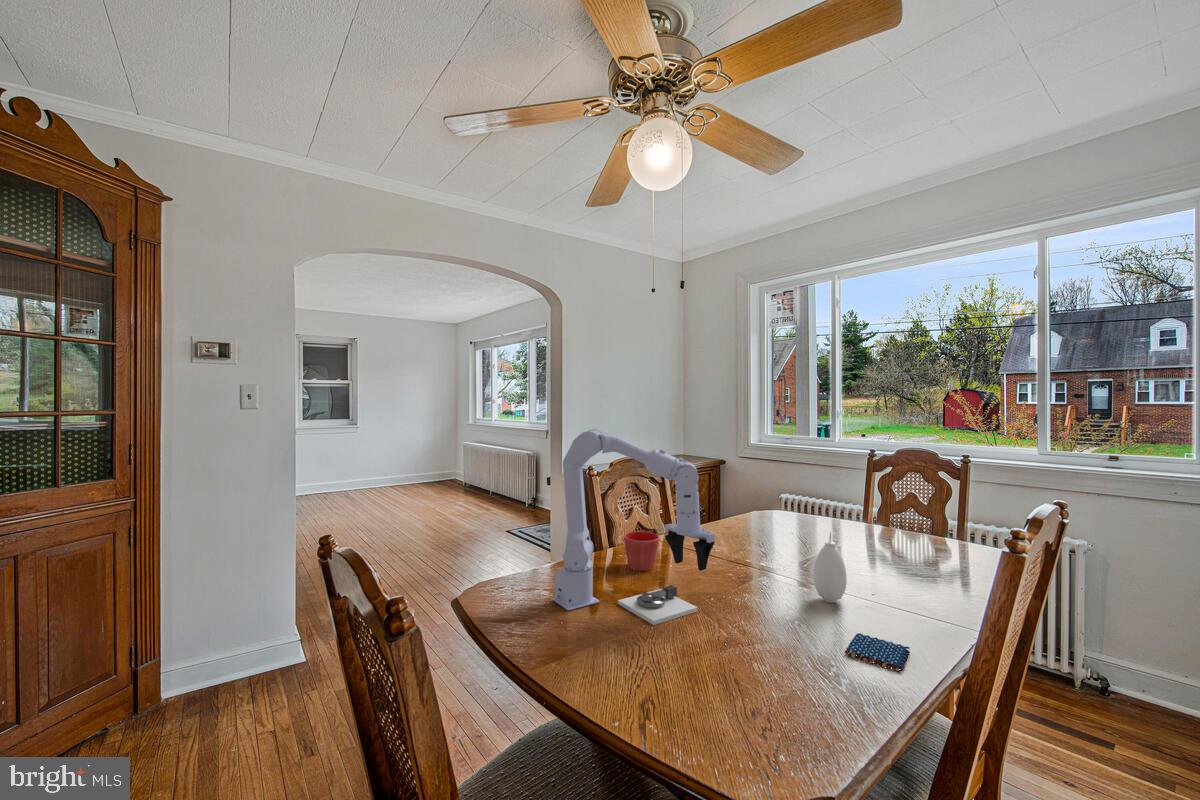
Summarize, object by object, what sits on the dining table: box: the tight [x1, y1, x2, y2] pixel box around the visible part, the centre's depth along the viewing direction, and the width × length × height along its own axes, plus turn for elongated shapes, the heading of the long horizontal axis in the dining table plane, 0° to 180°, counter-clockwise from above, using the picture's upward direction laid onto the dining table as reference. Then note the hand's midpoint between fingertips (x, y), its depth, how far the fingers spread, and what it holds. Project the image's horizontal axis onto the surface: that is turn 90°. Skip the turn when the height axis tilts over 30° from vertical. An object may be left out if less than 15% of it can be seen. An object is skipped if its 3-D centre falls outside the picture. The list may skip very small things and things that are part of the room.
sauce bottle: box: [812, 532, 848, 604], centre depth 131 cm, size 8×8×18 cm
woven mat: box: [844, 632, 911, 672], centre depth 104 cm, size 10×11×2 cm
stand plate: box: [617, 588, 699, 626], centre depth 126 cm, size 14×14×1 cm
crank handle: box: [637, 585, 678, 608], centre depth 127 cm, size 11×7×2 cm, turn 124°
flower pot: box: [623, 530, 660, 572], centre depth 156 cm, size 11×11×10 cm
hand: (690, 565), depth 125 cm, fingers open, 7 cm apart
